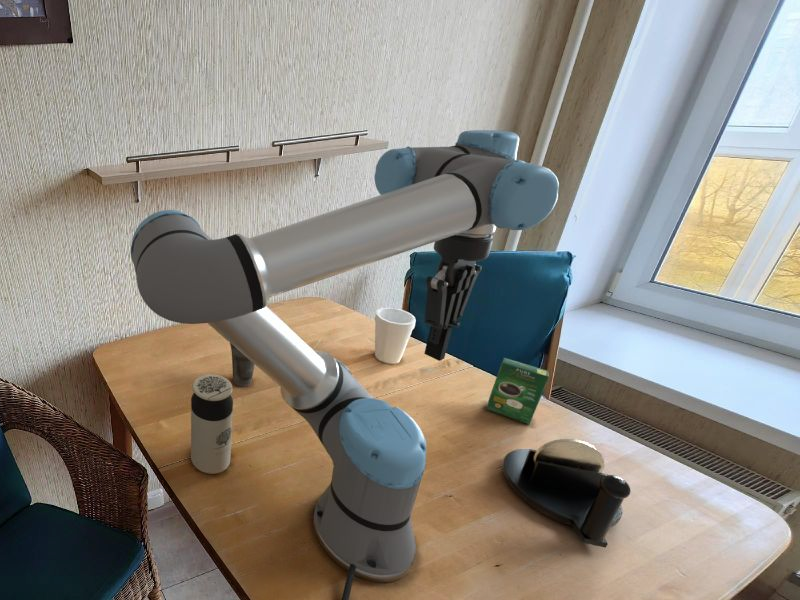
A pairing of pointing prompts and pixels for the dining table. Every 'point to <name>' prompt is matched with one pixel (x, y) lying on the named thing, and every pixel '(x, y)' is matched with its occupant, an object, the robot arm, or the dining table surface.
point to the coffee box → (517, 390)
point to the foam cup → (392, 333)
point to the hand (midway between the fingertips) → (434, 356)
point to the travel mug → (211, 423)
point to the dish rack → (569, 486)
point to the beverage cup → (241, 368)
